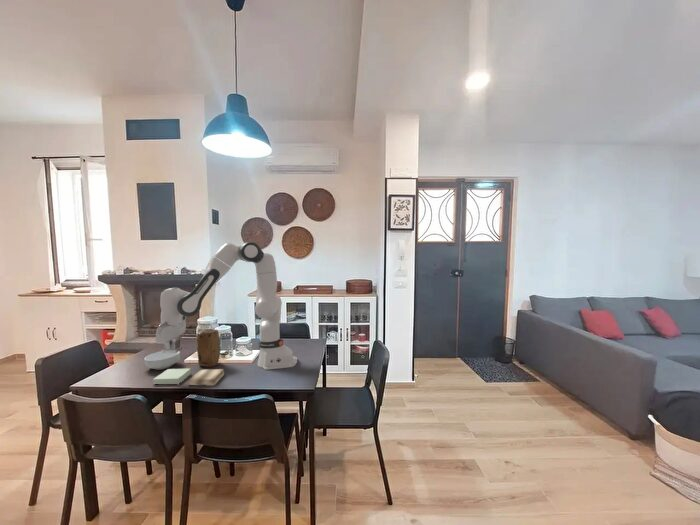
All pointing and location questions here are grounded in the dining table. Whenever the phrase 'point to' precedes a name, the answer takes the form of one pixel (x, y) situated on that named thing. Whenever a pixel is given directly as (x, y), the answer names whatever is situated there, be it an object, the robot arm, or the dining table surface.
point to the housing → (173, 345)
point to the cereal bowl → (161, 360)
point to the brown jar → (208, 348)
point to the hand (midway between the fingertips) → (171, 346)
